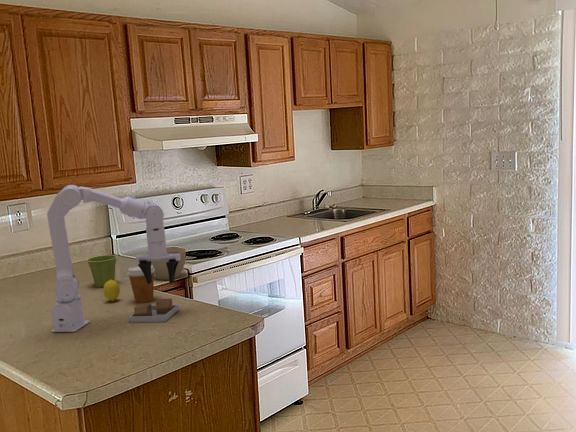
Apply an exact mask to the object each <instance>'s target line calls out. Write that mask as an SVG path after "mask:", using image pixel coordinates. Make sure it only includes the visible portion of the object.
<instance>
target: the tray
mask: <svg viewBox="0 0 576 432" xmlns="http://www.w3.org/2000/svg"><path fill="white" fill-rule="evenodd" d="M151 307H152V316H135V312H133V313H131V314H130V315H129V316H128V317H127V318H128V323H130V324H131V323H132V324H133V323H166V322H167V321H168V320H169V319H170V318H172V317H173V316H174V315H175V314H177V313H178V312H179V311H180V304H173V309H172V310H170V311H169V312H168V313H167V314H157V311H156V304H154V305H153V304H151Z"/></svg>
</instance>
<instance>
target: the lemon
mask: <svg viewBox="0 0 576 432" xmlns="http://www.w3.org/2000/svg"><path fill="white" fill-rule="evenodd" d="M120 291H121V289H120V285H119V284H118V282H117V281H116V280H114V281H113V280H109V281H107V282H106V283H105V285H104V287H103V294H104V295H103V296H104V297H105V299H107V300H109V301H111V302H114V301H115V300H116V299H118V298H119V296H120Z"/></svg>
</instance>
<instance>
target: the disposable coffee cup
mask: <svg viewBox="0 0 576 432" xmlns="http://www.w3.org/2000/svg"><path fill="white" fill-rule="evenodd" d="M154 271H155V269H154V267H153V265H151V275H152V282H151V283H150V284H147V281H146V278H145V276H144V274H143V272H142V270H141V269H140V268H139V266H138V265H134V266H131V267H129V268H128V269H127V272H126V274H127V275H128V277H129V281H130V285H131V290H132V295H133V297H134V298H133V299H134V302H135V303H137V304H143V303H150V302H152V301H153V300H154V295H155V294H154V286H155V285H154V284H155V283H154V282H155V274H154Z"/></svg>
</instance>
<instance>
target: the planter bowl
mask: <svg viewBox="0 0 576 432" xmlns="http://www.w3.org/2000/svg"><path fill="white" fill-rule="evenodd" d="M166 250H167V253H173V254H180V256H181V260H179V263H178V265H177V268H176V271H175V277H174V280H175V279H178V278H180V277H181V272H183V269H184V267H185V264H186V260H187V259H186V258H187V256H186V252H187V251H186V250H187V249H186V248H183V247H166ZM147 254H149V253H148V252H146V253H145V255H147ZM167 262H169V261H151V265H153V267H154V269H155V271H154V276H155V277H156V279H157V280H161V281H169V273H168V268H167V265H166V263H167Z"/></svg>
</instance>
